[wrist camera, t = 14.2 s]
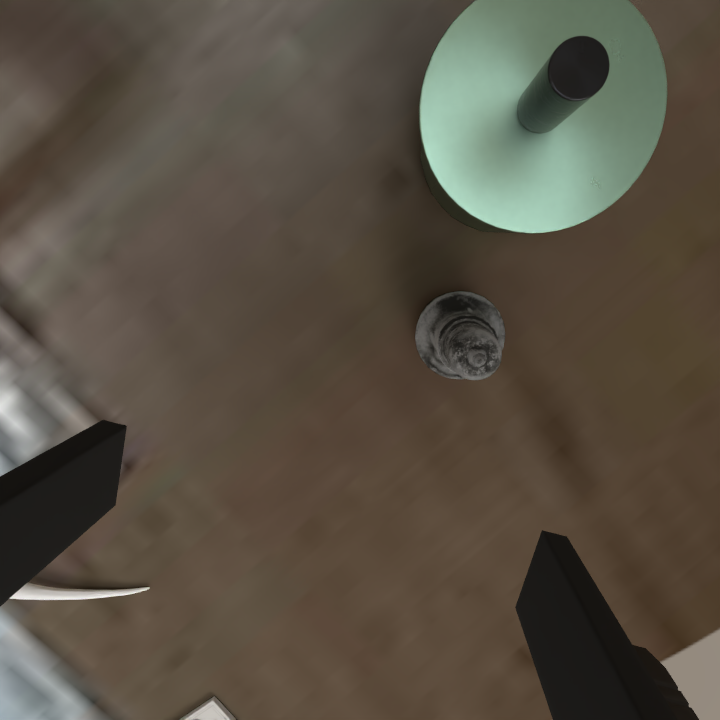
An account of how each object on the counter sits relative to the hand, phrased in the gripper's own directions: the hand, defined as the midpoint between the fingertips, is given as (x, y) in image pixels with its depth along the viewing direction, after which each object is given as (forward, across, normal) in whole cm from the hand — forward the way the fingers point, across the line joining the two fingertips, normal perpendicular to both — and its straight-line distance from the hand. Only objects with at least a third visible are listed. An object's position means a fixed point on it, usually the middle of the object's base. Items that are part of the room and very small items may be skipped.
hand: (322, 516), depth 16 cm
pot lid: (+14, +6, +17) cm, 23 cm away
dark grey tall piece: (+23, +6, +4) cm, 24 cm away
